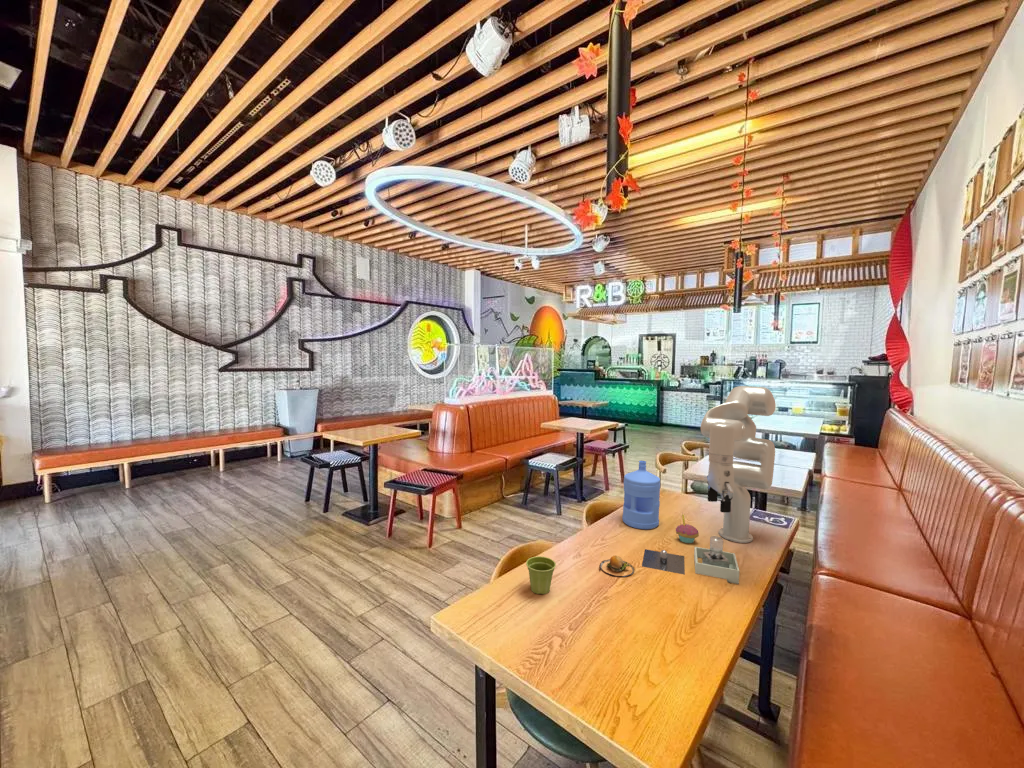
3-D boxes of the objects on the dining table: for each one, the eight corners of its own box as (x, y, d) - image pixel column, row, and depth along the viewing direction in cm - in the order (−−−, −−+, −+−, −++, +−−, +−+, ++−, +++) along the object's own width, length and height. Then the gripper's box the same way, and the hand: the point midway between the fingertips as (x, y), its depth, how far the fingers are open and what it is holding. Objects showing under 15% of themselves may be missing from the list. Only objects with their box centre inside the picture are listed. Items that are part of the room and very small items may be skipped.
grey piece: (720, 564, 150) (721, 534, 149) (728, 573, 144) (730, 542, 143) (702, 564, 150) (703, 534, 150) (710, 573, 144) (711, 542, 143)
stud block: (644, 551, 161) (645, 539, 160) (684, 558, 155) (684, 545, 155) (641, 569, 148) (642, 555, 147) (684, 577, 142) (685, 563, 142)
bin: (694, 558, 156) (694, 546, 155) (734, 565, 151) (734, 553, 150) (695, 576, 143) (695, 563, 143) (738, 584, 139) (739, 570, 138)
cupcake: (675, 544, 167) (676, 515, 166) (675, 536, 174) (676, 508, 174) (698, 548, 163) (700, 519, 163) (697, 540, 171) (699, 511, 170)
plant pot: (539, 578, 141) (539, 553, 140) (561, 589, 134) (561, 563, 134) (519, 589, 134) (520, 562, 134) (541, 601, 128) (542, 574, 127)
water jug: (634, 513, 199) (636, 455, 197) (665, 523, 188) (667, 462, 185) (615, 522, 189) (617, 460, 186) (647, 533, 177) (649, 468, 175)
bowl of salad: (640, 572, 146) (641, 551, 146) (623, 585, 138) (624, 563, 137) (609, 560, 154) (610, 540, 154) (592, 572, 146) (593, 551, 145)
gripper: (745, 465, 135) (742, 516, 137) (720, 452, 153) (718, 497, 154) (721, 465, 136) (719, 516, 137) (699, 451, 153) (697, 497, 154)
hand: (718, 506), depth 146 cm, fingers open, 9 cm apart
